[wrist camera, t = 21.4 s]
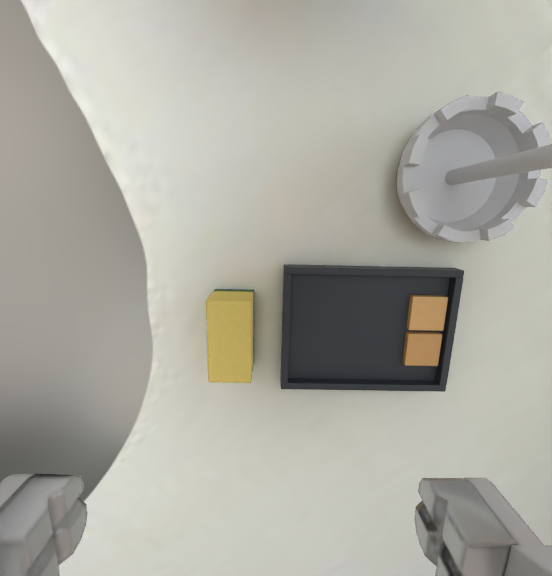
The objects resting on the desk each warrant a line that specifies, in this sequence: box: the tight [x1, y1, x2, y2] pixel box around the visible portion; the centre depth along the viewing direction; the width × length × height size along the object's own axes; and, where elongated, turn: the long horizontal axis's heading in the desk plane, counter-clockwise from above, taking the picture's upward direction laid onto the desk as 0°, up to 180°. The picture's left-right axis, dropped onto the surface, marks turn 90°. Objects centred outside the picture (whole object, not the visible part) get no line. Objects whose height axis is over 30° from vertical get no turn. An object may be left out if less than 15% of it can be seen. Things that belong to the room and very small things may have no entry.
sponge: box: [206, 289, 254, 383], centre depth 35 cm, size 9×4×5 cm, turn 179°
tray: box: [281, 265, 464, 391], centre depth 37 cm, size 15×20×2 cm
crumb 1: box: [406, 295, 448, 331], centre depth 36 cm, size 4×4×1 cm
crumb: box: [402, 332, 442, 366], centre depth 37 cm, size 4×4×1 cm
